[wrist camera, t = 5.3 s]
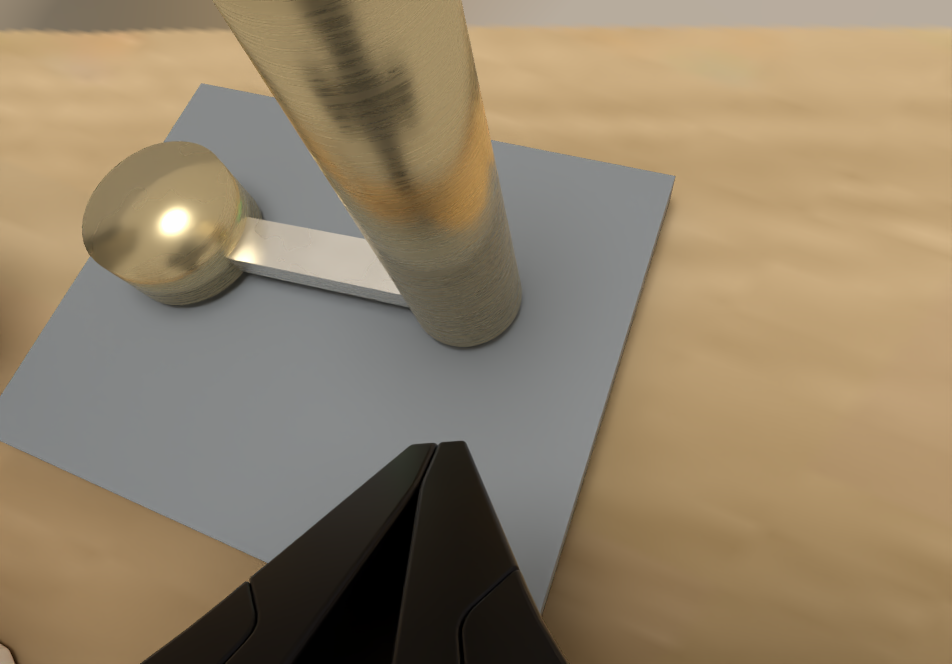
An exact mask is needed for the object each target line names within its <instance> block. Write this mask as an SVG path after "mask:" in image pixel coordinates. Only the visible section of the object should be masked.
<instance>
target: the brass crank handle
mask: <svg viewBox="0 0 952 664" xmlns="http://www.w3.org/2000/svg"><path fill="white" fill-rule="evenodd" d="M212 1H213V2H214V4H215V5H216V7H217V9H218V10H219V12H220V13H221V15H222V16H223V18H224V19H225V21H226V23H227V24H228V26H229V27H230V29H231V30H232V32H233V33H234V35H235V37H236V38H237V40H238V41H239V43H240V44H241V46H242V48H243V49H244V51H245V52H246V54H247V55H248V57H249V58H250V60H251V62H252V63H253V65H254V66H255V68H256V69H257V71H258V72H259V74H260V76H261V77H262V79H263V80H264V82H265V83H266V85H267V86H268V88H269V90H270V91H271V93H272V94H273V96H274V97H275V99H276V100H277V102H278V104H279V105H280V107H281V108H282V110H283V111H284V113H285V115H286V116H287V118H288V119H289V121H290V122H291V124H292V125H293V127H294V129H295V130H296V132H297V133H298V135H299V136H300V138H301V139H302V141H303V143H304V144H305V146H306V147H307V149H308V150H309V152H310V153H311V155H312V157H313V158H314V160H315V161H316V163H317V164H318V166H319V168H320V169H321V171H322V172H323V174H324V175H325V177H326V178H327V180H328V182H329V183H330V185H331V186H332V188H333V189H334V191H335V192H336V194H337V196H338V197H339V199H340V200H341V202H342V203H343V205H344V206H345V208H346V210H347V211H348V213H349V214H350V216H351V217H352V219H353V220H354V222H355V224H356V225H357V227H358V228H359V230H360V231H361V233H362V235H363V236H364V238H365V239H362V238H357V237H352V236H346V235H341V234H336V233H330V232H325V231H320V230H314V229H309V228H304V227H298V226H293V225H288V224H282V223H277V222H272V221H266V220H262V216H261V212H260V209H259V207H258V205H257V203H256V201H255V200H254V199H253V198H252V196H251V195H250V194H249V193H248V192H247V191H246V189H245V188H244V187H243V186H242V185H241V184H240V183H239V181H238V180H237V179H236V178H235V177H234V176H233V174H232V173H231V172H230V171H229V170H228V169H227V168H226V166H225V165H224V164H223V163H222V162H221V161H220V160H219V158H218V157H217V156H216V155H215V154H214V153H213V152H212V151H210V150H209V149H207V148H205V147H204V146H201V145H199V144H196V143H192V142H185V141H171V142H164V143H160V144H156V145H152V146H150V147H147V148H144V149H142V150H140V151H138V152H136V153H134V154H132V155H131V156H129V157H127V158H126V159H125V160H123V161H122V162H120V163H119V164H118V165H117V166H116V167H114V168H113V169H112V170H111V171H110V172H109V173H108V174H107V175H106V176H105V177H104V178H103V180H102V181H101V182H100V183H99V185H98V186H97V188H96V189H95V191H94V192H93V194H92V196H91V198H90V200H89V202H88V204H87V207H86V209H85V213H84V217H83V224H82V235H83V241H84V244H85V247H86V250H87V251H88V253H89V255H90V256H91V257H92V258H93V260H94V261H95V262H97V263H98V264H99V265H100V266H102V267H103V268H105V269H106V270H108V271H109V272H111V273H113V274H114V275H116V276H117V277H119V278H120V279H122V280H123V281H125V282H126V283H128V284H130V285H131V286H133V287H134V288H136V289H137V290H139V291H140V292H142V293H143V294H145V295H147V296H148V297H150V298H151V299H153V300H155V301H158V302H161V303H164V304H169V305H187V304H193V303H197V302H200V301H203V300H206V299H209V298H211V297H213V296H215V295H217V294H218V293H220V292H222V291H223V290H225V289H226V288H227V287H229V286H230V285H231V284H233V283H234V282H235V281H236V280H237V279H238V278H239V277H240V276H241V275H242V274H243V273H244V272H248V273H252V274H257V275H261V276H266V277H271V278H275V279H280V280H285V281H289V282H294V283H299V284H303V285H308V286H312V287H317V288H322V289H326V290H331V291H336V292H340V293H345V294H349V295H354V296H359V297H363V298H368V299H373V300H377V301H382V302H387V303H391V304H396V305H400V306H405V307H409V308H410V309H411V311H412V312H413V314H414V316H415V317H416V319H417V320H418V322H419V323H420V325H421V326H422V328H423V329H424V330H425V331H426V332H427V333H428V334H429V335H430V336H431V337H433V338H434V339H436V340H437V341H440V342H442V343H444V344H448V345H451V346H458V347H468V346H475V345H479V344H482V343H485V342H488V341H490V340H492V339H494V338H495V337H497V336H498V335H500V334H501V333H502V332H503V331H505V330H506V329H507V327H508V326H509V325H510V324H511V323H512V321H513V320H514V318H515V317H516V315H517V313H518V310H519V308H520V304H521V300H522V286H521V281H520V276H519V272H518V267H517V262H516V257H515V253H514V248H513V243H512V239H511V234H510V229H509V224H508V220H507V215H506V210H505V205H504V201H503V196H502V191H501V186H500V182H499V177H498V172H497V167H496V163H495V158H494V153H493V148H492V144H491V139H490V134H489V129H488V125H487V120H486V115H485V110H484V106H483V101H482V96H481V91H480V87H479V82H478V77H477V72H476V68H475V63H474V58H473V53H472V49H471V44H470V39H469V34H468V30H467V25H466V20H465V16H464V11H463V6H462V1H461V0H212Z"/></svg>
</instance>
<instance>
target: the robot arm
mask: <svg viewBox="0 0 952 664" xmlns="http://www.w3.org/2000/svg"><path fill="white" fill-rule="evenodd" d="M249 581H250V583H249V582H244V583H243V584H242V585H241V586H239V587H238V588H237V589H236V590H235V591H233V592H232V593H231V594H230V595H229V596H227V597H226V598H225V599H224V600H223V601H221V602H220V603H219V604H218V605H216V606H215V607H214V608H212V609H211V610H210V611H209V612H207V613H206V614H205V615H204V616H202V617H201V618H200V619H199V620H197V621H196V622H195V623H194V624H192V625H191V626H190V627H189V628H187V629H186V630H185V631H183V632H182V633H181V634H179V635H178V636H177V637H175V638H174V639H173V640H171V641H170V642H169V643H167V644H166V645H165V646H163V647H162V648H161V649H159V650H158V651H157V652H155V653H154V654H152V655H151V656H150V657H148V658H147V659H146V660H144V661H143V662H142V663H140V664H569V662H568V661H567V659H566V658H565V656H564V655H563V653H562V651H561V650H560V648H559V646H558V644H557V643H556V641H555V639H554V638H553V636H552V634H551V632H550V631H549V629H548V627H547V626H546V624H545V622H544V620H543V618H542V616H541V614H540V612H539V610H538V608H537V606H536V604H535V602H534V600H533V598H532V595H531V593H530V591H529V589H528V587H527V584H526V582H525V580H524V577H523V575H522V573H521V572H520V568H519V566H518V564H517V561H516V559H515V557H514V554H513V552H512V550H511V547H510V545H509V542H508V540H507V538H506V535H505V533H504V531H503V528H502V526H501V524H500V521H499V519H498V516H497V514H496V512H495V509H494V507H493V505H492V502H491V500H490V497H489V495H488V493H487V490H486V488H485V486H484V483H483V481H482V479H481V476H480V474H479V471H478V469H477V467H476V464H475V462H474V460H473V457H472V455H471V453H470V450H469V448H468V445H467V443H466V442H465V441H448V442H441V443H439V444H438V445H437V444H436V443H421V444H412V445H410V446H408V447H407V448H406V449H405V450H404V451H402V452H401V453H400V454H399V455H398V456H396V457H395V458H394V459H393V460H392V461H390V462H389V463H388V464H387V465H385V466H384V467H383V468H382V469H381V470H379V471H378V472H377V473H376V474H375V475H373V476H372V477H371V478H370V479H369V480H367V481H366V482H365V483H364V484H363V485H361V486H360V487H359V488H358V489H357V490H355V491H354V492H353V493H352V494H351V495H349V496H348V497H347V498H346V499H345V500H343V501H342V502H341V503H340V504H338V505H337V506H336V507H335V508H334V509H332V510H331V511H330V512H329V513H328V514H326V515H325V516H324V517H323V518H322V519H320V520H319V521H318V522H317V523H316V524H314V525H313V526H312V527H311V528H310V529H308V530H307V531H306V532H305V533H304V534H302V535H301V536H300V537H299V538H298V539H296V540H295V541H294V542H293V543H291V544H290V545H289V546H288V547H287V548H285V549H284V550H283V551H282V552H281V553H279V554H278V555H277V556H276V557H275V558H273V559H272V560H271V561H270V562H269V563H267V564H266V565H265V566H264V567H262V568H261V569H260V570H259V571H258V572H256V573H255V574H254V575H253V576H252V577H251V578H250V580H249Z"/></svg>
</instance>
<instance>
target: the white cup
mask: <svg viewBox="0 0 952 664" xmlns="http://www.w3.org/2000/svg"><path fill="white" fill-rule="evenodd" d="M0 664H15V662H14V660H13V658H12V655H11V653H10V651H9V649H8V648H6V647H5V646H3V645H2V644H0Z"/></svg>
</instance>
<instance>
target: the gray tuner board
mask: <svg viewBox="0 0 952 664" xmlns="http://www.w3.org/2000/svg"><path fill="white" fill-rule="evenodd" d="M171 141H185V142H192V143H196V144H199V145H201V146H204V147H205V148H207V149H209V150H210V151H212V152H213V153H214V154H215V155H216V156H217V157H218V158H219V160H220V161H221V162H222V163H223V164H224V165H225V166H226V168H227V169H228V170H229V171H230V172H231V173H232V174H233V176H234V177H235V178H236V179H237V180H238V181H239V183H240V184H241V185H242V186H243V187H244V188H245V189H246V191H247V192H248V193H249V194H250V195H251V196H252V198H253V199H254V200H255V201H256V203H257V205H258V207H259V209H260V212H261V216H262V220H266V221H272V222H277V223H282V224H288V225H293V226H298V227H304V228H309V229H314V230H320V231H325V232H330V233H336V234H341V235H346V236H352V237H357V238H362V239H365V238H364V236H363V235H362V233H361V231H360V230H359V228H358V227H357V225H356V224H355V222H354V220H353V219H352V217H351V216H350V214H349V213H348V211H347V210H346V208H345V206H344V205H343V203H342V202H341V200H340V199H339V197H338V196H337V194H336V192H335V191H334V189H333V188H332V186H331V185H330V183H329V182H328V180H327V178H326V177H325V175H324V174H323V172H322V171H321V169H320V168H319V166H318V164H317V163H316V161H315V160H314V158H313V157H312V155H311V153H310V152H309V150H308V149H307V147H306V146H305V144H304V143H303V141H302V139H301V138H300V136H299V135H298V133H297V132H296V130H295V129H294V127H293V125H292V124H291V122H290V121H289V119H288V118H287V116H286V115H285V113H284V111H283V110H282V108H281V107H280V105H279V104H278V102H277V100H276V99H275V98H274V97H269V96H264V95H259V94H253V93H248V92H243V91H238V90H233V89H228V88H223V87H218V86H213V85H208V84H202V83H201V85H200V86H199V88H198V89H197V91H196V92H195V94H194V95H193V97H192V99H191V100H190V102H189V103H188V105H187V106H186V108H185V110H184V111H183V113H182V114H181V116H180V117H179V119H178V120H177V122H176V124H175V125H174V127H173V128H172V130H171V131H170V133H169V134H168V136H167V138H166V139H165V141H164V142H171ZM164 142H163V143H164ZM491 144H492V148H493V153H494V158H495V163H496V167H497V172H498V177H499V182H500V186H501V191H502V196H503V201H504V205H505V210H506V215H507V220H508V224H509V229H510V234H511V239H512V243H513V248H514V253H515V257H516V262H517V267H518V272H519V276H520V281H521V286H522V300H521V304H520V308H519V310H518V313H517V315H516V317H515V318H514V320H513V321H512V323H511V324H510V325H509V326H508V327H507V329H506V330H505V331H503V332H502V333H501V334H500V335H498V336H497V337H495V338H494V339H492V340H490V341H488V342H485V343H482V344H479V345H475V346H468V347H458V346H451V345H448V344H444V343H442V342H440V341H437V340H436V339H434V338H433V337H431V336H430V335H429V334H428V333H427V332H426V331H425V330H424V329H423V328H422V326H421V325H420V323H419V322H418V320H417V319H416V317H415V316H414V314H413V312H412V311H411V309H410V308H409V307H405V306H400V305H396V304H391V303H387V302H382V301H377V300H373V299H368V298H363V297H359V296H354V295H349V294H345V293H340V292H336V291H331V290H326V289H322V288H317V287H312V286H308V285H303V284H299V283H294V282H289V281H285V280H280V279H275V278H271V277H266V276H261V275H257V274H252V273H248V272H244V273H243V274H242V275H241V276H240V277H239V278H238V279H237V280H236V281H235V282H234V283H233V284H231V285H230V286H229V287H227V288H226V289H225V290H223V291H222V292H220V293H218V294H217V295H215V296H213V297H211V298H209V299H206V300H203V301H200V302H197V303H193V304H187V305H169V304H164V303H161V302H158V301H155V300H153V299H151V298H150V297H148V296H147V295H145V294H143V293H142V292H140V291H139V290H137V289H136V288H134V287H133V286H131V285H130V284H128V283H126V282H125V281H123V280H122V279H120V278H119V277H117V276H116V275H114V274H113V273H111V272H109V271H108V270H106V269H105V268H103V267H102V266H100V265H99V264H98V263H97V262H95V261H94V260H93V258H92V257H91V256H90V257H89V259H88V261H87V262H86V264H85V265H84V267H83V268H82V270H81V271H80V273H79V275H78V276H77V278H76V279H75V281H74V282H73V284H72V285H71V287H70V289H69V290H68V292H67V293H66V295H65V296H64V298H63V299H62V301H61V303H60V304H59V306H58V307H57V309H56V310H55V312H54V313H53V315H52V317H51V318H50V320H49V321H48V323H47V324H46V326H45V327H44V329H43V331H42V332H41V334H40V335H39V337H38V338H37V340H36V341H35V343H34V345H33V346H32V348H31V349H30V351H29V352H28V354H27V355H26V357H25V359H24V360H23V362H22V363H21V365H20V366H19V368H18V370H17V371H16V373H15V374H14V376H13V377H12V379H11V380H10V382H9V384H8V385H7V387H6V388H5V390H4V391H3V393H2V394H1V396H0V441H1V442H4V443H6V444H8V445H10V446H12V447H15V448H17V449H19V450H21V451H23V452H26V453H28V454H30V455H32V456H34V457H37V458H39V459H41V460H43V461H45V462H47V463H50V464H52V465H54V466H56V467H58V468H61V469H63V470H65V471H67V472H69V473H72V474H74V475H76V476H78V477H80V478H83V479H85V480H87V481H89V482H91V483H93V484H96V485H98V486H100V487H102V488H104V489H107V490H109V491H111V492H113V493H115V494H118V495H120V496H122V497H124V498H126V499H129V500H131V501H133V502H135V503H137V504H139V505H142V506H144V507H146V508H148V509H150V510H153V511H155V512H157V513H159V514H161V515H164V516H166V517H168V518H170V519H172V520H175V521H177V522H179V523H181V524H183V525H185V526H188V527H190V528H192V529H194V530H196V531H199V532H201V533H203V534H205V535H207V536H210V537H212V538H214V539H216V540H218V541H221V542H223V543H225V544H227V545H229V546H231V547H234V548H236V549H238V550H240V551H242V552H245V553H247V554H249V555H251V556H253V557H256V558H258V559H260V560H262V561H264V562H267V563H269V562H270V561H271V560H272V559H273V558H275V557H276V556H277V555H278V554H279V553H281V552H282V551H283V550H284V549H285V548H287V547H288V546H289V545H290V544H291V543H293V542H294V541H295V540H296V539H298V538H299V537H300V536H301V535H302V534H304V533H305V532H306V531H307V530H308V529H310V528H311V527H312V526H313V525H314V524H316V523H317V522H318V521H319V520H320V519H322V518H323V517H324V516H325V515H326V514H328V513H329V512H330V511H331V510H332V509H334V508H335V507H336V506H337V505H338V504H340V503H341V502H342V501H343V500H345V499H346V498H347V497H348V496H349V495H351V494H352V493H353V492H354V491H355V490H357V489H358V488H359V487H360V486H361V485H363V484H364V483H365V482H366V481H367V480H369V479H370V478H371V477H372V476H373V475H375V474H376V473H377V472H378V471H379V470H381V469H382V468H383V467H384V466H385V465H387V464H388V463H389V462H390V461H392V460H393V459H394V458H395V457H396V456H398V455H399V454H400V453H401V452H402V451H404V450H405V449H406V448H407V447H408V446H410V445H412V444H421V443H436V444H437V445H438V444H439V443H441V442H448V441H465V442H466V443H467V445H468V448H469V450H470V453H471V455H472V457H473V460H474V462H475V464H476V467H477V469H478V471H479V474H480V476H481V479H482V481H483V483H484V486H485V488H486V490H487V493H488V495H489V497H490V500H491V502H492V505H493V507H494V509H495V512H496V514H497V516H498V519H499V521H500V524H501V526H502V528H503V531H504V533H505V535H506V538H507V540H508V542H509V545H510V547H511V550H512V552H513V554H514V557H515V559H516V561H517V564H518V566H519V568H520V572H521V573H522V575H523V577H524V580H525V582H526V584H527V587H528V589H529V591H530V593H531V595H532V598H533V600H534V602H535V604H536V606H537V608H538V610H539V612H540V614H541V616H542V613H543V610H544V607H545V604H546V600H547V597H548V594H549V591H550V587H551V584H552V581H553V578H554V574H555V571H556V568H557V565H558V561H559V558H560V555H561V552H562V548H563V545H564V542H565V539H566V535H567V532H568V529H569V526H570V523H571V519H572V516H573V513H574V510H575V506H576V503H577V500H578V497H579V493H580V490H581V487H582V484H583V480H584V477H585V474H586V471H587V467H588V464H589V461H590V458H591V454H592V451H593V448H594V445H595V441H596V438H597V435H598V432H599V428H600V425H601V422H602V419H603V415H604V412H605V409H606V406H607V403H608V399H609V396H610V393H611V390H612V386H613V383H614V380H615V377H616V373H617V370H618V367H619V364H620V360H621V357H622V354H623V351H624V347H625V344H626V341H627V338H628V334H629V331H630V328H631V325H632V321H633V318H634V315H635V312H636V308H637V305H638V302H639V299H640V295H641V292H642V289H643V286H644V283H645V279H646V276H647V273H648V270H649V266H650V263H651V260H652V257H653V253H654V250H655V247H656V244H657V240H658V237H659V234H660V231H661V227H662V224H663V221H664V218H665V214H666V211H667V208H668V205H669V201H670V197H671V193H672V189H673V184H674V180H675V176H672V175H667V174H662V173H656V172H651V171H646V170H641V169H636V168H631V167H626V166H621V165H616V164H611V163H605V162H600V161H595V160H590V159H585V158H580V157H575V156H570V155H565V154H560V153H554V152H549V151H544V150H539V149H534V148H529V147H524V146H519V145H514V144H509V143H503V142H498V141H493V140H491Z"/></svg>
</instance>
